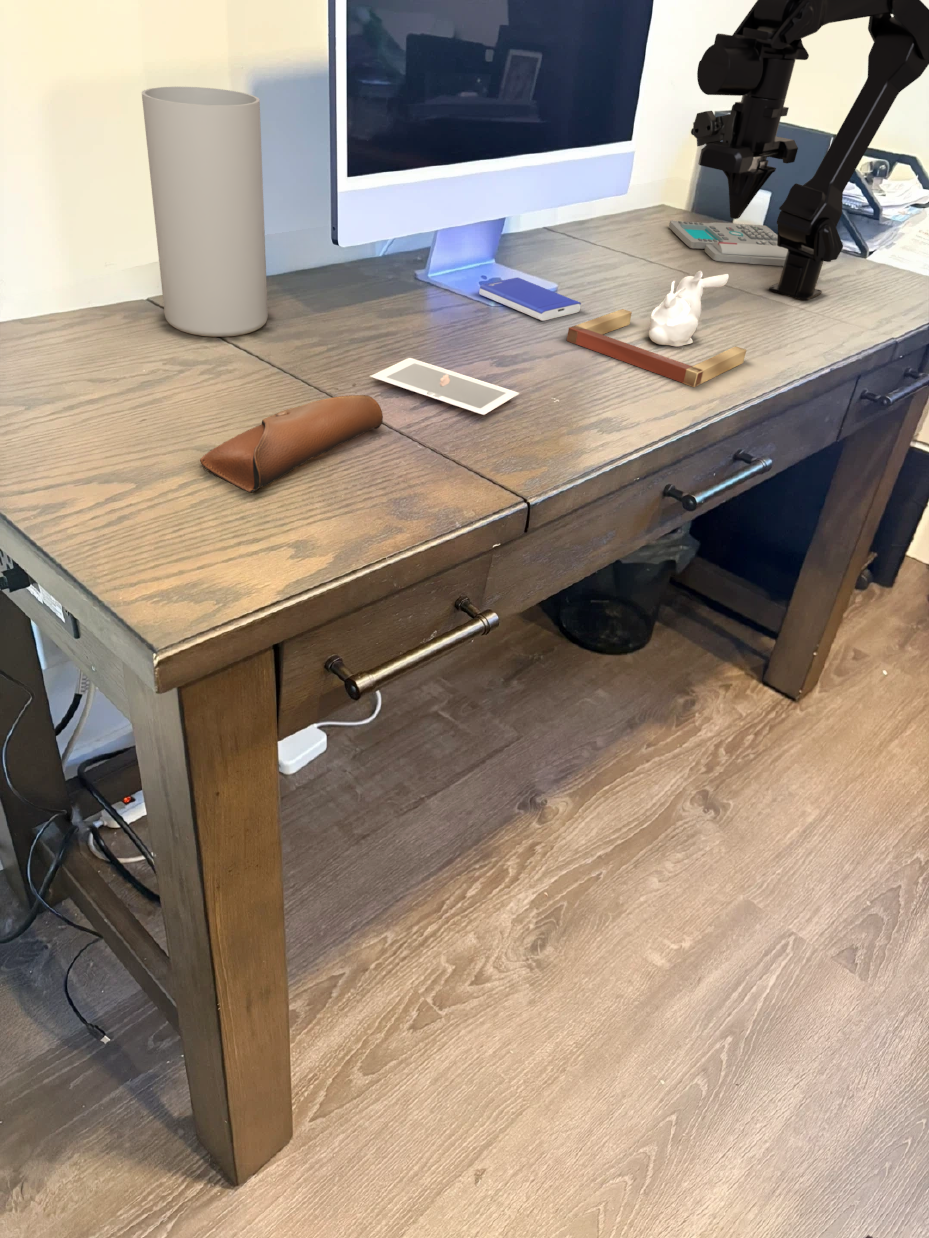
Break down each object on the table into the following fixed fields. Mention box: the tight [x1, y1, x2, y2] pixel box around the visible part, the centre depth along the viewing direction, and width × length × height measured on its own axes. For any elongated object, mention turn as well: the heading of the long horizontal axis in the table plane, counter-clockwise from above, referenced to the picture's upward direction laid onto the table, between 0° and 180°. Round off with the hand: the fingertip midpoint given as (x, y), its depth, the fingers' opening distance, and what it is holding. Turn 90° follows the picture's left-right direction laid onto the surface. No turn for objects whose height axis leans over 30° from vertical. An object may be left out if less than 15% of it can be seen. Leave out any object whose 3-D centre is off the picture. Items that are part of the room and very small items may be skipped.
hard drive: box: [478, 277, 582, 322], centre depth 133 cm, size 2×8×12 cm
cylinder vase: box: [141, 86, 269, 338], centre depth 110 cm, size 12×12×25 cm
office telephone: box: [668, 219, 788, 267], centre depth 170 cm, size 23×3×20 cm
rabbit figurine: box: [648, 270, 730, 347], centre depth 123 cm, size 12×8×10 cm, turn 139°
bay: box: [566, 308, 747, 388], centre depth 121 cm, size 13×19×2 cm
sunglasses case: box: [199, 394, 384, 493], centre depth 89 cm, size 18×7×7 cm, turn 147°
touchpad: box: [369, 357, 520, 416], centre depth 104 cm, size 8×15×2 cm, turn 58°
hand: (734, 218), depth 135 cm, fingers closed
